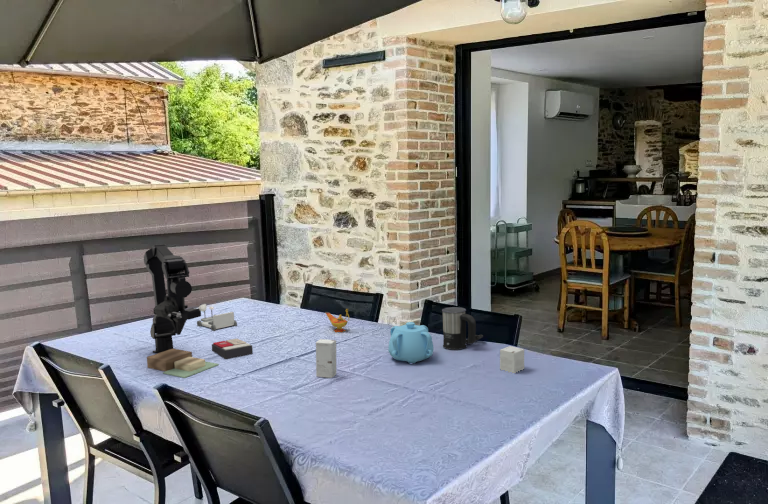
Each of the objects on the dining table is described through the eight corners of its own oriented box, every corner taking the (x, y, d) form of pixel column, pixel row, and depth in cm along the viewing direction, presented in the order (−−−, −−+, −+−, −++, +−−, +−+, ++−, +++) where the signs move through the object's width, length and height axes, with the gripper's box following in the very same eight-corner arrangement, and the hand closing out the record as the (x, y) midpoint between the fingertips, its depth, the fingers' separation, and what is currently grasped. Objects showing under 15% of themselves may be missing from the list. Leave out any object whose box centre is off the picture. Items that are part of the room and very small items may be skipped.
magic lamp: (332, 325, 283) (331, 301, 281) (356, 332, 269) (355, 307, 267) (319, 328, 278) (318, 303, 277) (343, 335, 264) (342, 310, 263)
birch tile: (174, 368, 225) (174, 361, 225) (189, 362, 231) (189, 356, 231) (190, 371, 221) (190, 364, 221) (205, 365, 227) (205, 359, 227)
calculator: (237, 337, 254) (252, 343, 241) (238, 347, 254) (253, 354, 242) (211, 342, 248) (224, 348, 235) (212, 352, 248) (225, 360, 236)
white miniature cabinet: (315, 377, 213) (314, 342, 211) (321, 372, 217) (319, 338, 216) (332, 378, 211) (331, 343, 210) (337, 374, 215) (336, 339, 214)
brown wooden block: (147, 367, 228) (146, 357, 227) (173, 358, 238) (173, 348, 238) (166, 371, 223) (165, 360, 222) (192, 362, 233) (191, 351, 233)
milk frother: (439, 348, 242) (438, 311, 240) (451, 338, 256) (450, 302, 254) (475, 352, 236) (475, 313, 234) (485, 341, 251) (485, 304, 249)
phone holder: (192, 304, 289) (215, 300, 297) (194, 325, 290) (216, 320, 298) (213, 310, 276) (236, 305, 284) (214, 332, 277) (237, 327, 286)
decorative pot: (433, 352, 238) (433, 317, 236) (433, 365, 222) (432, 328, 220) (390, 352, 239) (390, 317, 237) (387, 365, 223) (386, 328, 222)
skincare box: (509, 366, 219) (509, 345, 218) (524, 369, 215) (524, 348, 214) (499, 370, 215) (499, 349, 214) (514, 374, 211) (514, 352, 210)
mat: (162, 373, 221) (162, 372, 221) (197, 360, 235) (197, 359, 235) (184, 378, 215) (184, 377, 215) (218, 364, 229) (218, 363, 229)
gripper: (139, 294, 224) (142, 336, 226) (176, 299, 214) (179, 343, 216) (164, 288, 233) (167, 329, 235) (200, 293, 224) (203, 335, 226)
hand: (178, 334), depth 228 cm, fingers closed
